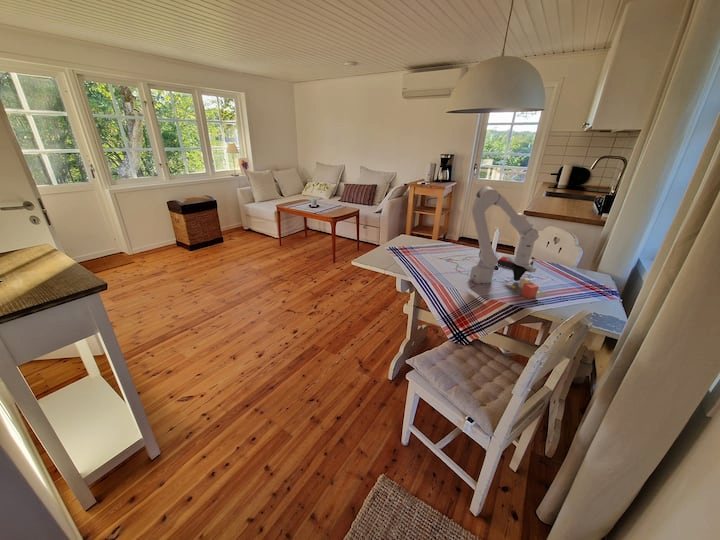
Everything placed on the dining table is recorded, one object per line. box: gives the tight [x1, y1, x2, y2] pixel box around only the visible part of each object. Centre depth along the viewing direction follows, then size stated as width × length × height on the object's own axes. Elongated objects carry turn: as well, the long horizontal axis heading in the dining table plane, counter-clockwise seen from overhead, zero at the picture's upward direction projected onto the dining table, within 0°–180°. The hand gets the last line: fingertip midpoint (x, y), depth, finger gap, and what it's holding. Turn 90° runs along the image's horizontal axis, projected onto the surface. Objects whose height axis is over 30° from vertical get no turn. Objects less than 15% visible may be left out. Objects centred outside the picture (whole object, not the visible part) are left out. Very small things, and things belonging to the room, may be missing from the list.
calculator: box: [498, 254, 534, 273], centre depth 157 cm, size 11×4×15 cm
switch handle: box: [517, 277, 531, 287], centre depth 131 cm, size 4×2×3 cm, turn 108°
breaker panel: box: [505, 284, 550, 300], centre depth 128 cm, size 12×12×2 cm
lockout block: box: [521, 281, 540, 299], centre depth 123 cm, size 4×4×5 cm
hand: (516, 280), depth 135 cm, fingers closed
